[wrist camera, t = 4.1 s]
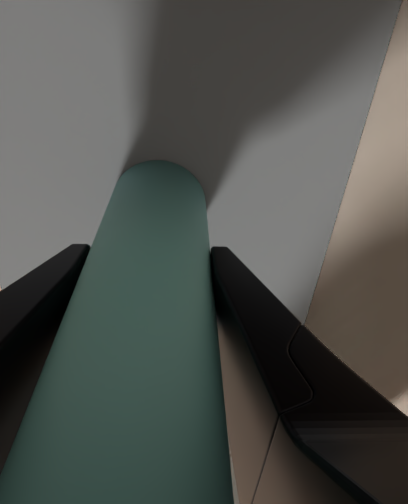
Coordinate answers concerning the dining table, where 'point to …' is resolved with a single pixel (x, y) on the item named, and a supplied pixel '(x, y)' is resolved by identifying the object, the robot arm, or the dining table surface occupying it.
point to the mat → (187, 120)
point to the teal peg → (133, 363)
